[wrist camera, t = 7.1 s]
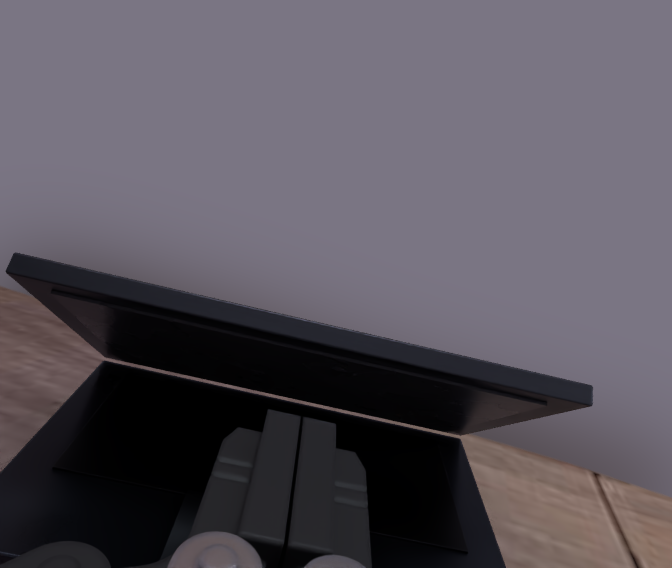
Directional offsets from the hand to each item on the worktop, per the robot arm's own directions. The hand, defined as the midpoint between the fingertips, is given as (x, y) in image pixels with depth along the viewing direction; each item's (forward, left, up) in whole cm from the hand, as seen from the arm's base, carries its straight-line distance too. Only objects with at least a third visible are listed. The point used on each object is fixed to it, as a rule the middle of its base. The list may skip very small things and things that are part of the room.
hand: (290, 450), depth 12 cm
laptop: (-3, +5, -7) cm, 9 cm away
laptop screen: (-4, +6, -2) cm, 7 cm away
